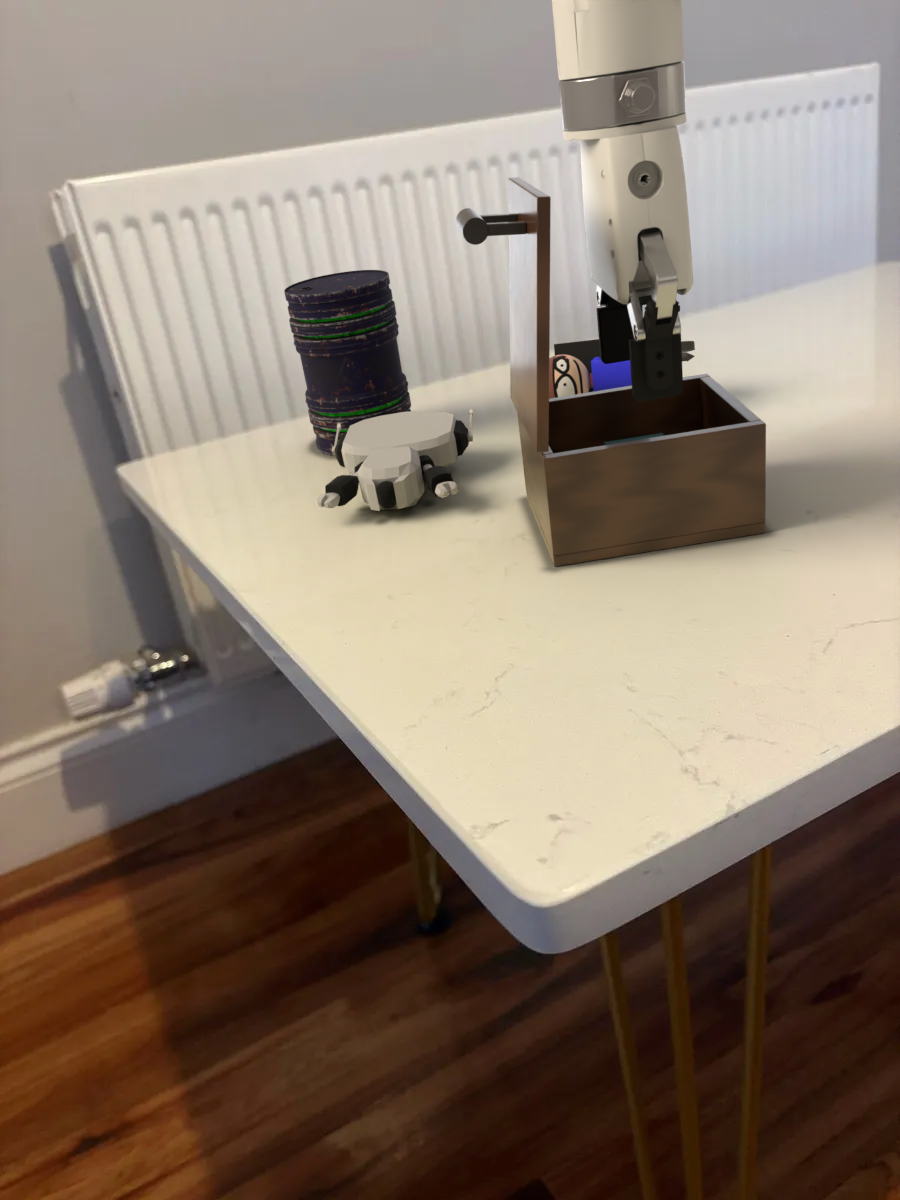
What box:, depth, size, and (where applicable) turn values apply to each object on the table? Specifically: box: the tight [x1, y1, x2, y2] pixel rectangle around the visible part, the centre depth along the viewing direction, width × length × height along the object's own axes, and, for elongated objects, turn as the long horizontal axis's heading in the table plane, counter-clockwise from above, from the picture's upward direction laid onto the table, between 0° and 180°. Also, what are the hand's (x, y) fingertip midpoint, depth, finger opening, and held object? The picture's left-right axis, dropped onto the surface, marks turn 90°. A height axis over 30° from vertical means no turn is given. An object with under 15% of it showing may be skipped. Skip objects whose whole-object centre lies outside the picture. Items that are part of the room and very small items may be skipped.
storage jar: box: [283, 269, 412, 456], centre depth 97 cm, size 10×10×15 cm
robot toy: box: [316, 408, 474, 512], centre depth 86 cm, size 12×4×15 cm
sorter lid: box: [455, 176, 552, 452], centre depth 68 cm, size 15×13×5 cm
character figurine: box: [549, 338, 696, 399], centre depth 94 cm, size 8×7×15 cm
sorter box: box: [516, 373, 767, 567], centre depth 74 cm, size 15×13×8 cm
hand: (639, 377), depth 71 cm, fingers open, 9 cm apart
